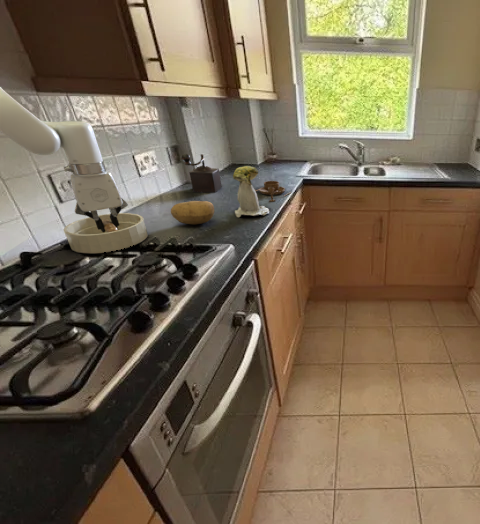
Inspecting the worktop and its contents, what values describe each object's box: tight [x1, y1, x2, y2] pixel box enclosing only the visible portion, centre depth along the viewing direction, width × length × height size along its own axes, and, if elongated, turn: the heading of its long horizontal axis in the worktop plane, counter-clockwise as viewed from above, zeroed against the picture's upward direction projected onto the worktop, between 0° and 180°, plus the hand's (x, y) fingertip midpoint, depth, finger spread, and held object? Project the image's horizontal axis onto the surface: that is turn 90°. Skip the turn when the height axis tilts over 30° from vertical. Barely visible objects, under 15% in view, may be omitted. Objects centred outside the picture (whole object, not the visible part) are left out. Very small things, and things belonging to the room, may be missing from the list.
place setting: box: [255, 180, 293, 203], centre depth 154 cm, size 18×20×6 cm
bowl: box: [63, 212, 149, 254], centre depth 102 cm, size 19×19×6 cm
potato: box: [170, 200, 215, 226], centre depth 117 cm, size 10×14×8 cm
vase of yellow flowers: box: [232, 165, 270, 218], centre depth 126 cm, size 12×13×18 cm
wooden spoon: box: [102, 220, 118, 232], centre depth 101 cm, size 14×3×3 cm, turn 46°
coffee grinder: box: [180, 153, 223, 194], centre depth 153 cm, size 16×11×18 cm
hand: (109, 229), depth 101 cm, fingers closed on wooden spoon, 2 cm apart
